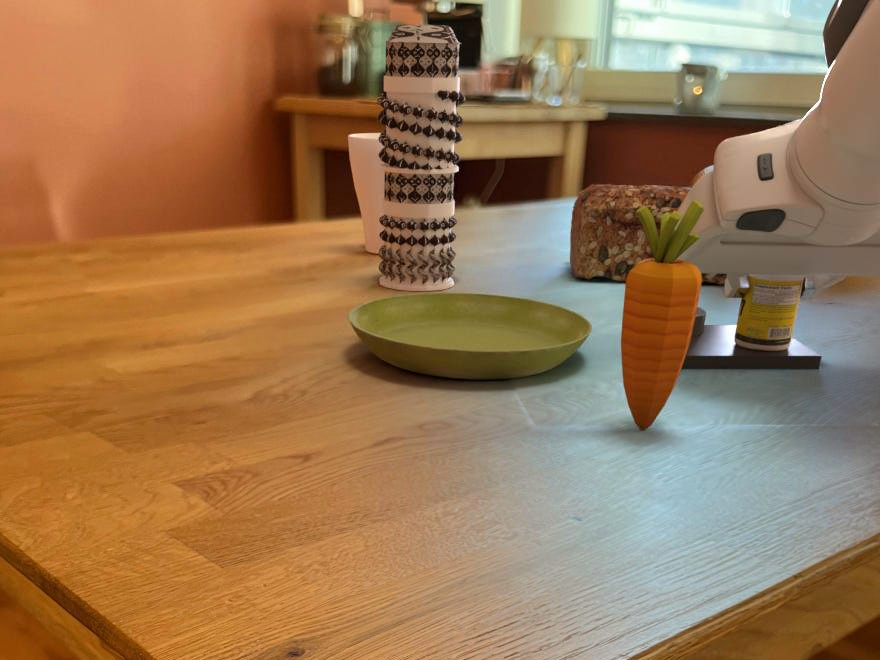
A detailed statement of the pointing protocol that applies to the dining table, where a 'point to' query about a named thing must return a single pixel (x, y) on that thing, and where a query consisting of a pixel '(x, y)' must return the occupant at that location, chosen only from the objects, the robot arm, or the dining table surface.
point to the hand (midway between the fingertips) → (768, 291)
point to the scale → (740, 351)
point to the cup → (368, 185)
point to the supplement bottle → (768, 312)
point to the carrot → (659, 314)
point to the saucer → (469, 334)
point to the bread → (619, 228)
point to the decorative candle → (419, 157)
